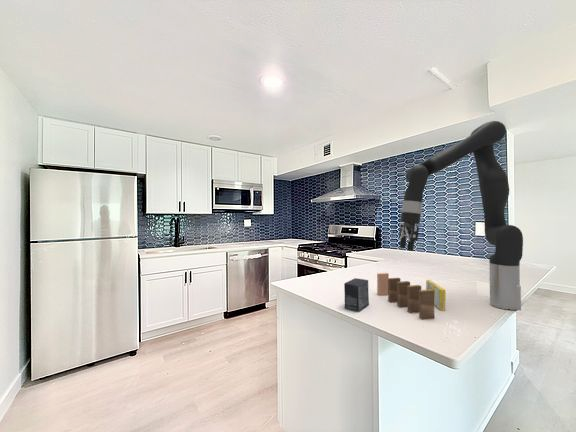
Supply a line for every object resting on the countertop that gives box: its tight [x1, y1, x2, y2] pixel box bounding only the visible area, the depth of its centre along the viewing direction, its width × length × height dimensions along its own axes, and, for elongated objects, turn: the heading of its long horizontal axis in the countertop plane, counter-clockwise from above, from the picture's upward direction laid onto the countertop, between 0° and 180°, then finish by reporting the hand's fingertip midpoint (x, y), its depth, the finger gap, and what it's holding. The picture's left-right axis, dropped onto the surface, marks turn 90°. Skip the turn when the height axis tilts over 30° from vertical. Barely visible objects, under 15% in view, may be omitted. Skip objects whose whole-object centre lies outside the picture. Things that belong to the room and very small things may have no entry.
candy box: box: [425, 279, 446, 311], centre depth 103 cm, size 16×2×8 cm, turn 168°
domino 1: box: [376, 272, 390, 297], centre depth 115 cm, size 2×5×10 cm, turn 103°
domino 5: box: [418, 289, 435, 320], centre depth 89 cm, size 2×5×10 cm, turn 103°
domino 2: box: [387, 277, 401, 303], centre depth 106 cm, size 2×5×10 cm, turn 103°
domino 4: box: [407, 284, 422, 314], centre depth 95 cm, size 2×5×10 cm, turn 103°
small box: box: [343, 277, 370, 313], centre depth 100 cm, size 11×6×10 cm, turn 141°
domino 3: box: [396, 280, 411, 308], centre depth 100 cm, size 2×5×10 cm, turn 103°
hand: (405, 249), depth 106 cm, fingers open, 8 cm apart
